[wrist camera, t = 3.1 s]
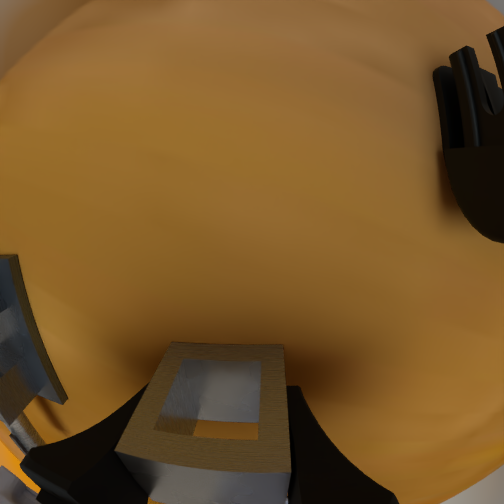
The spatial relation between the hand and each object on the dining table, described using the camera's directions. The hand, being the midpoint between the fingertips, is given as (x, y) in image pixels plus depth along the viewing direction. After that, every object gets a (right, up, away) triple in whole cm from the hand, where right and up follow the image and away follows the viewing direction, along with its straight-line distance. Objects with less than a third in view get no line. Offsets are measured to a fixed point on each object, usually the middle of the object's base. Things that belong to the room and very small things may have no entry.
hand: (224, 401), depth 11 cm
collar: (0, 0, +2) cm, 2 cm away
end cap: (+14, +11, -2) cm, 18 cm away
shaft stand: (-16, -2, +3) cm, 16 cm away
